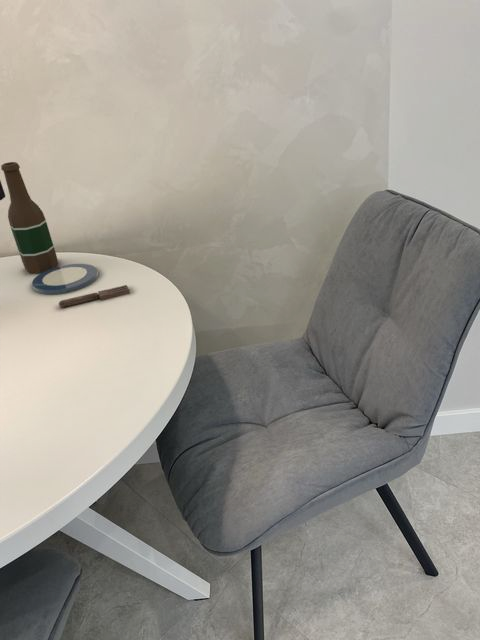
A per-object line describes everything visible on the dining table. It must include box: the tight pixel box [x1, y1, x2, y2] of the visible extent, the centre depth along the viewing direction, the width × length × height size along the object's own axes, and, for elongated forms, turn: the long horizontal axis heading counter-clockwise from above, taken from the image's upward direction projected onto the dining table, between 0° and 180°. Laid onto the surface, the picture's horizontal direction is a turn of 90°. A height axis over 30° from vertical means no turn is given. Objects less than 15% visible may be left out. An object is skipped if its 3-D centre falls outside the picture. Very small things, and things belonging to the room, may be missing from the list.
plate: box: [31, 263, 99, 295], centre depth 121 cm, size 14×14×1 cm
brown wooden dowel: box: [58, 284, 130, 308], centre depth 111 cm, size 14×3×1 cm, turn 113°
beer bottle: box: [0, 161, 59, 275], centre depth 123 cm, size 8×8×24 cm
